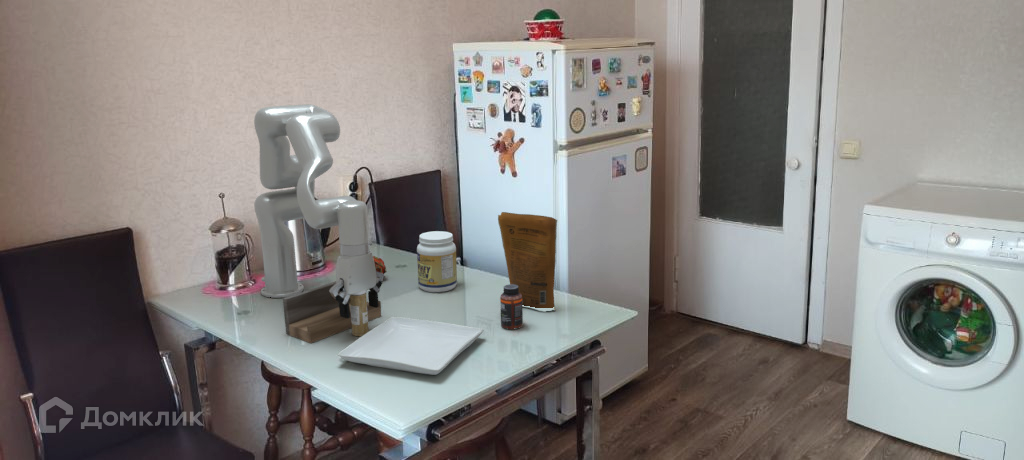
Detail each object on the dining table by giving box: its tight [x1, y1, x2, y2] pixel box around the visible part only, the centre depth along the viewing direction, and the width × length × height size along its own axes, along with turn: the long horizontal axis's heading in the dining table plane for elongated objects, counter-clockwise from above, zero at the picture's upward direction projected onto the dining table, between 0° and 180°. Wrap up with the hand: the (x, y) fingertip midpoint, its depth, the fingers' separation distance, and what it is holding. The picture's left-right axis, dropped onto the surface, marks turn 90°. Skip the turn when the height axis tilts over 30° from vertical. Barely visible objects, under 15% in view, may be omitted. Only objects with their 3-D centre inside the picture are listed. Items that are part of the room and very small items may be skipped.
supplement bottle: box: [499, 283, 524, 330], centre depth 196 cm, size 6×6×11 cm
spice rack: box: [282, 281, 382, 344], centre depth 199 cm, size 11×24×10 cm, turn 142°
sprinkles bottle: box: [350, 290, 370, 337], centre depth 192 cm, size 5×5×14 cm
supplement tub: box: [416, 230, 458, 293], centre depth 228 cm, size 12×12×17 cm
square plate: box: [337, 316, 485, 376], centre depth 181 cm, size 27×27×4 cm
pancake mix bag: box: [497, 211, 558, 308], centre depth 209 cm, size 7×19×28 cm, turn 51°
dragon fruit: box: [373, 255, 388, 280], centre depth 238 cm, size 8×8×12 cm
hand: (359, 311), depth 192 cm, fingers open, 9 cm apart
